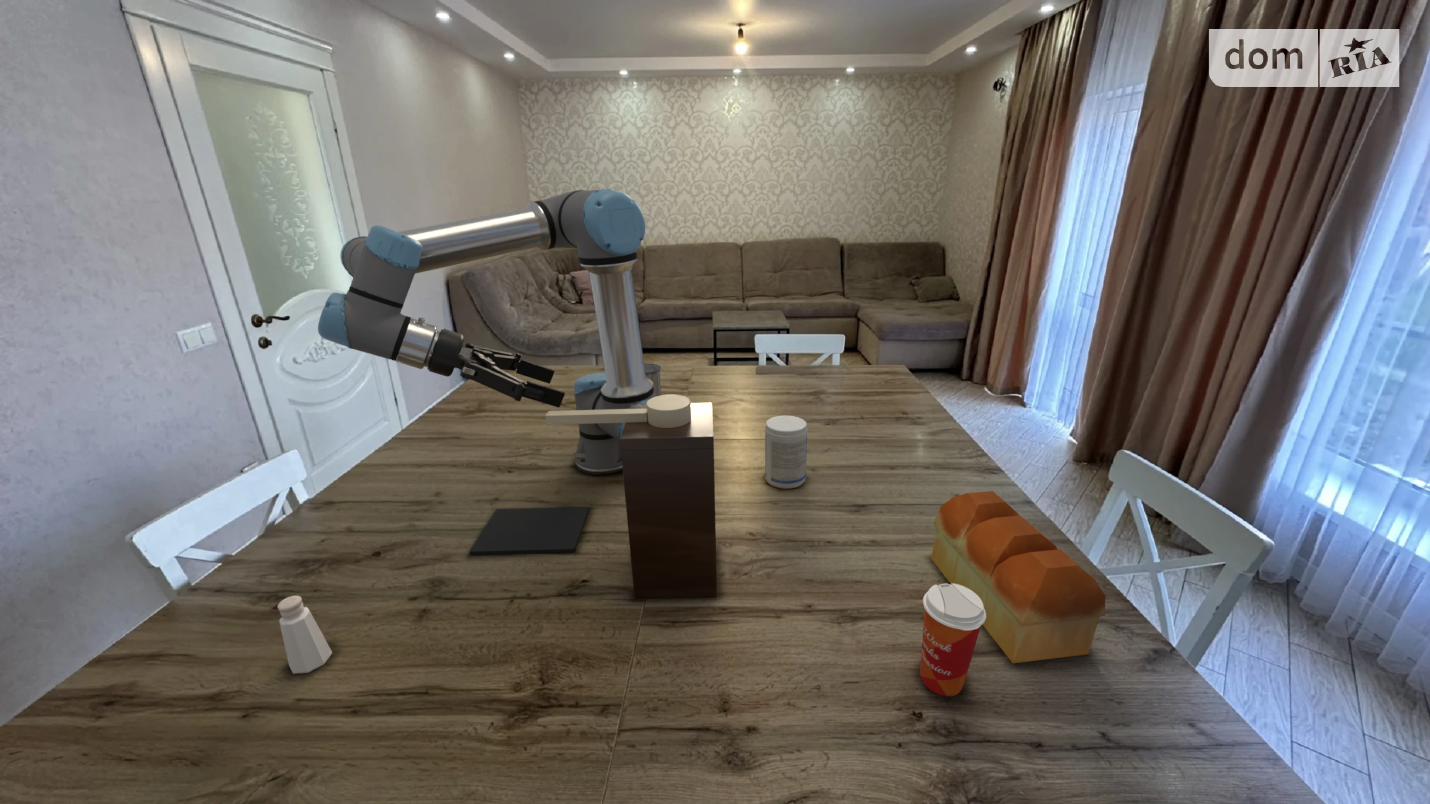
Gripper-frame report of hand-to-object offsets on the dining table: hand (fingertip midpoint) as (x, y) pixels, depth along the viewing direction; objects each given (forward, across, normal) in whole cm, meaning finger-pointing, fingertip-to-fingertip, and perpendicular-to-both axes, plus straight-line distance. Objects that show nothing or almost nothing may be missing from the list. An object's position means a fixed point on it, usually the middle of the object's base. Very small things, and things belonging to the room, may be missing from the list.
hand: (556, 387), depth 101 cm
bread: (+69, -49, -1) cm, 85 cm away
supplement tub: (+58, +1, +5) cm, 58 cm away
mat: (+7, +3, +31) cm, 32 cm away
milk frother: (+38, +54, +15) cm, 68 cm away
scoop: (+7, -18, -3) cm, 19 cm away
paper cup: (+51, -58, +8) cm, 77 cm away
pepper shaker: (-23, -18, +47) cm, 55 cm away
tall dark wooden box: (+28, -21, +20) cm, 40 cm away
